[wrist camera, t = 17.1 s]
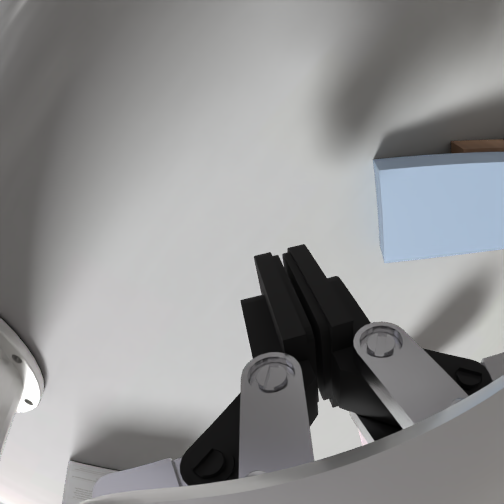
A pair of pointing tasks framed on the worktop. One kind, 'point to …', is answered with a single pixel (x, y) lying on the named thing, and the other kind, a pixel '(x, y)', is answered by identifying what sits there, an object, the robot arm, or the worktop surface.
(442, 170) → the tile
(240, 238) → the worktop surface
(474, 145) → the tile
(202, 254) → the worktop surface
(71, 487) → the supplement box
